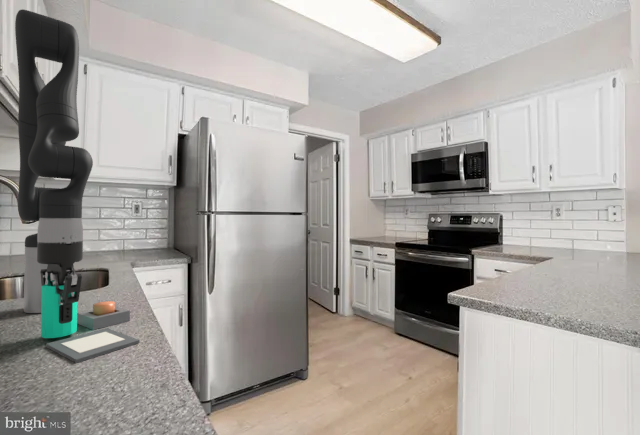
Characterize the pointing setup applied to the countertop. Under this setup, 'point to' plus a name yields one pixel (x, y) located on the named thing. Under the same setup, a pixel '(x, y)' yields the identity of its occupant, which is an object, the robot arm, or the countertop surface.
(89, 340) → the grey flat plate
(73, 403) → the countertop surface
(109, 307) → the button
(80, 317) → the button box
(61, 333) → the candle
